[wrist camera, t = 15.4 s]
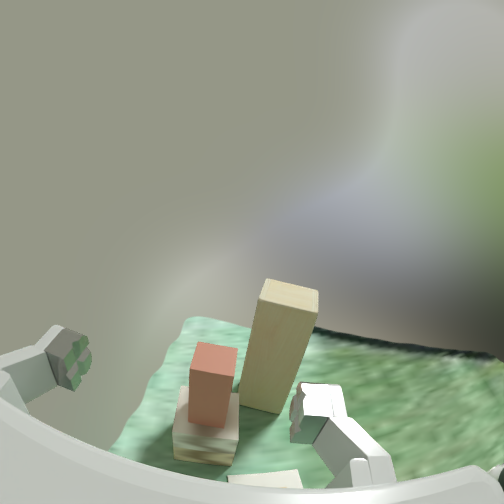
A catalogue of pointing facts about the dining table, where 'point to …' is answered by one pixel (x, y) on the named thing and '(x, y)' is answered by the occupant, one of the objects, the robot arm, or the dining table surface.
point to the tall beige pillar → (277, 344)
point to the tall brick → (211, 384)
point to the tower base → (205, 435)
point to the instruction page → (269, 479)
